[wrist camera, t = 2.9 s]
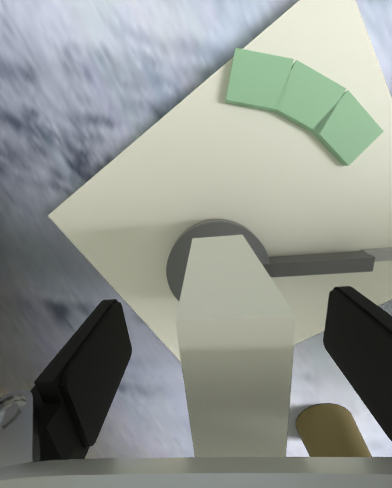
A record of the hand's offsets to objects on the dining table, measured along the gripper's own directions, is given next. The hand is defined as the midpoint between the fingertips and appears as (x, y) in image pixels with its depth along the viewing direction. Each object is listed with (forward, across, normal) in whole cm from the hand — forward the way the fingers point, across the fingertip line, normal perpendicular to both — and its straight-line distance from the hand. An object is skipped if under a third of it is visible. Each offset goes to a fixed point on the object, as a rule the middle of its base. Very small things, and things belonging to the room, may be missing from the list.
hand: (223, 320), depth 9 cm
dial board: (+8, -3, -2) cm, 8 cm away
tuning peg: (+6, -3, 0) cm, 7 cm away
